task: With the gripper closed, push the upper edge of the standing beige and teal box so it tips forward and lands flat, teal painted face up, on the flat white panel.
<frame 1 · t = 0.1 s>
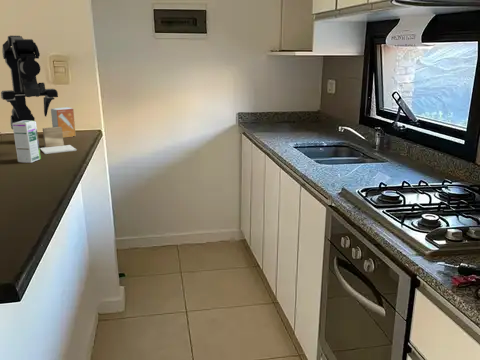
hand: (32, 117, 173), 15 cm above the countertop, fingers open, 9 cm apart
small box: (64, 137, 214), on the countertop
beige and teal box: (54, 147, 192), on the countertop
flat white panel: (58, 149, 187), on the countertop
syrup box: (29, 161, 169), on the countertop
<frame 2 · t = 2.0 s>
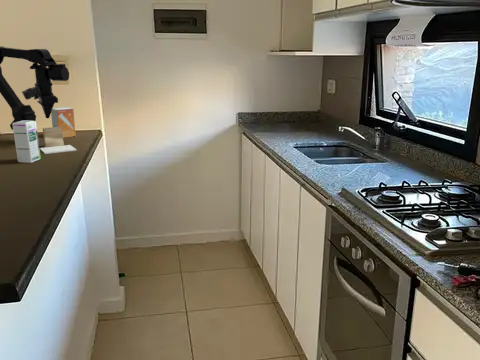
hand: (47, 118, 195), 11 cm above the countertop, fingers closed
nothing on the countertop moved.
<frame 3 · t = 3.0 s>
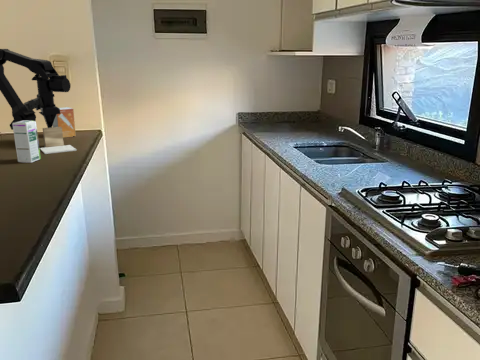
hand: (49, 129, 195), 7 cm above the countertop, fingers closed
nothing on the countertop moved.
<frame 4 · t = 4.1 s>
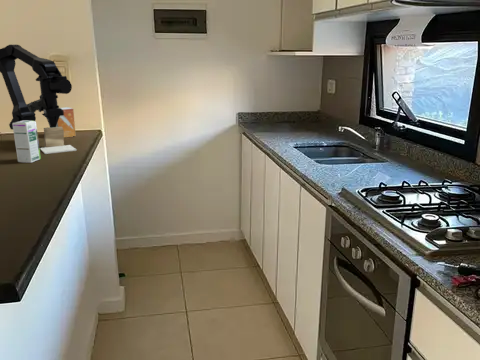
hand: (52, 131, 190), 7 cm above the countertop, fingers closed
beige and teal box: (54, 146, 192), on the countertop, tilted 19°
everything else where it was.
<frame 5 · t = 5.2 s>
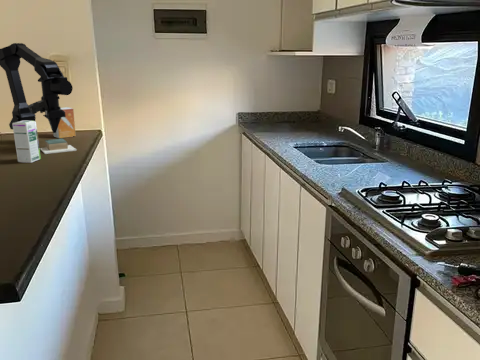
hand: (54, 132, 188), 7 cm above the countertop, fingers closed
beige and teal box: (54, 143, 191), point 2 cm above the countertop, tilted 90°, touching flat white panel
everything else where it was.
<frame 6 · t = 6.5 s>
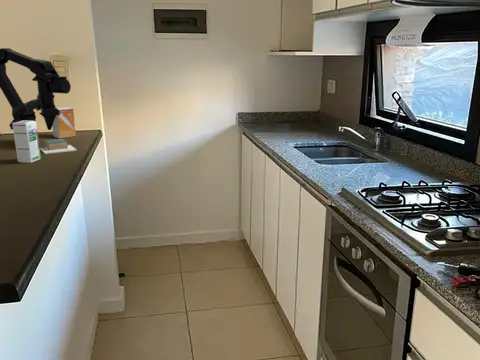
hand: (49, 129, 195), 6 cm above the countertop, fingers closed
nothing on the countertop moved.
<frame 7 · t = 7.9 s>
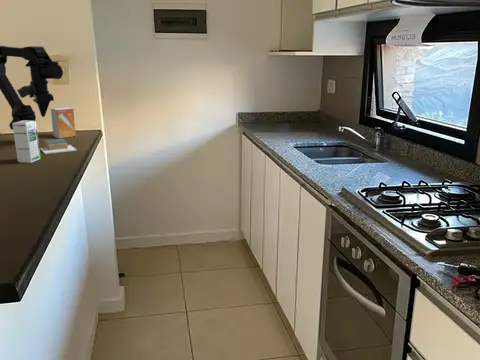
hand: (43, 116, 192), 12 cm above the countertop, fingers closed
nothing on the countertop moved.
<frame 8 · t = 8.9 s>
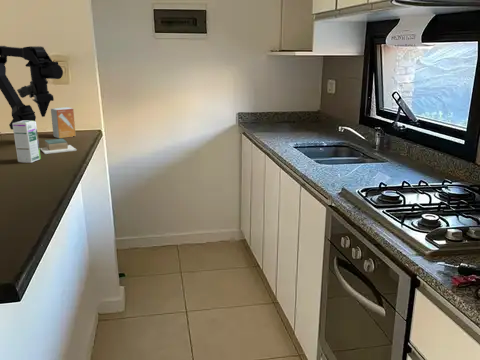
hand: (43, 116, 192), 12 cm above the countertop, fingers closed
nothing on the countertop moved.
at the end: beige and teal box tilted 90°; beige and teal box touching flat white panel; beige and teal box inside the target area (4.5 cm from its centre), point 1.7 cm above the countertop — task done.
